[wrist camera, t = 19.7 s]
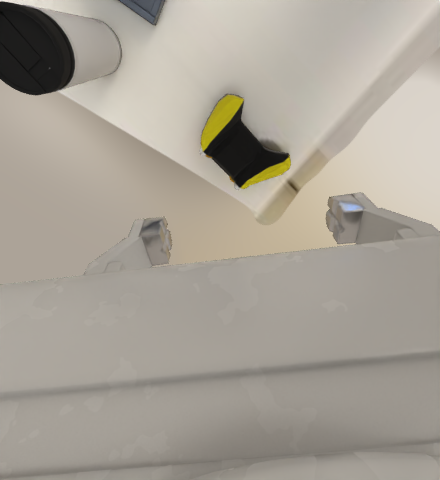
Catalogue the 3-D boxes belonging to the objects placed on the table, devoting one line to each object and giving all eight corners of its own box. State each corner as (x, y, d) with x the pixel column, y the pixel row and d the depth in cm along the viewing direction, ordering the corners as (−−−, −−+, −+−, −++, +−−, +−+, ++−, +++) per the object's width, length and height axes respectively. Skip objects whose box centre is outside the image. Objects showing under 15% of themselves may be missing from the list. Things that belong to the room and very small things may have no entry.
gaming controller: (231, 83, 41) (186, 132, 44) (234, 88, 36) (183, 142, 40) (290, 155, 47) (246, 192, 51) (298, 166, 43) (249, 206, 47)
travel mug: (95, 4, 35) (0, -29, 19) (131, 57, 38) (77, 68, 22) (61, 36, 37) (-53, 32, 20) (99, 84, 40) (26, 113, 24)
